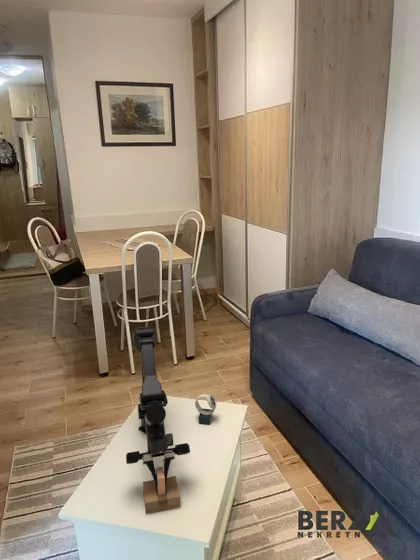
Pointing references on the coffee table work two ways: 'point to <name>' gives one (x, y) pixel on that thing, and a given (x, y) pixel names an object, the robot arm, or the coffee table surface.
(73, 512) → the coffee table surface
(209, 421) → the watch
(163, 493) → the rectangular block
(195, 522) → the coffee table surface
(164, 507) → the slot box
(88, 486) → the coffee table surface
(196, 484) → the coffee table surface
